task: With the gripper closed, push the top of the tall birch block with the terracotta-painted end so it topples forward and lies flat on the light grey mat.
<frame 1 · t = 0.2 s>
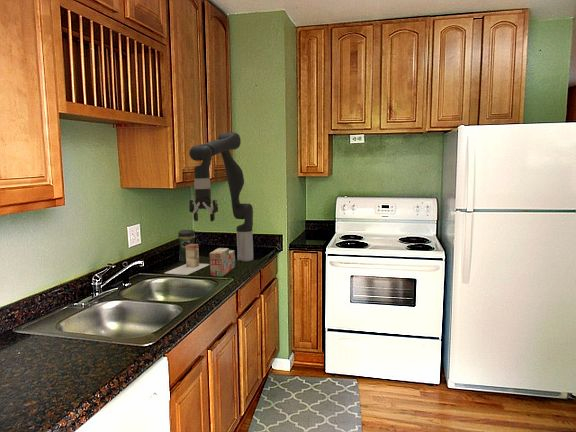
hand: (204, 221, 210), 29 cm above the counter, tool pointing down, fingers open, 8 cm apart
printed cardboard box: (223, 271, 229), on the counter
grey mat: (188, 269, 234), on the counter
coffee jar: (188, 261, 256), on the counter
birch block: (192, 266, 238), point 1 cm above the counter, touching grey mat
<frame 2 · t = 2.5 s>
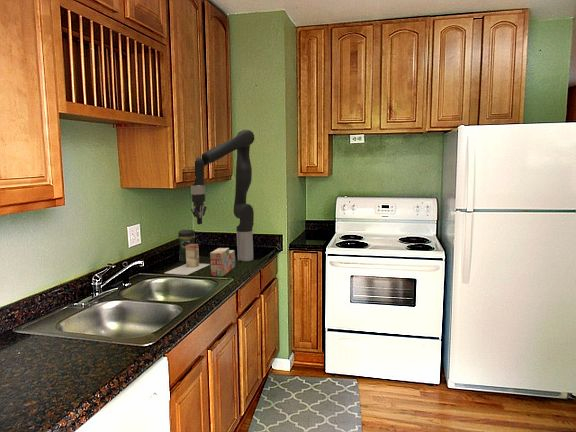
hand: (199, 224, 244), 23 cm above the counter, tool pointing down, fingers closed
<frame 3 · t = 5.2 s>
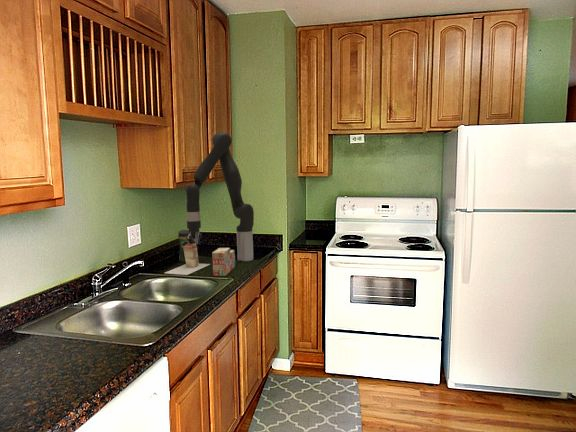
hand: (195, 250, 241), 9 cm above the counter, tool pointing down, fingers closed
birch block: (192, 265, 238), point 1 cm above the counter, tilted 10°, touching grey mat, gripper, hand
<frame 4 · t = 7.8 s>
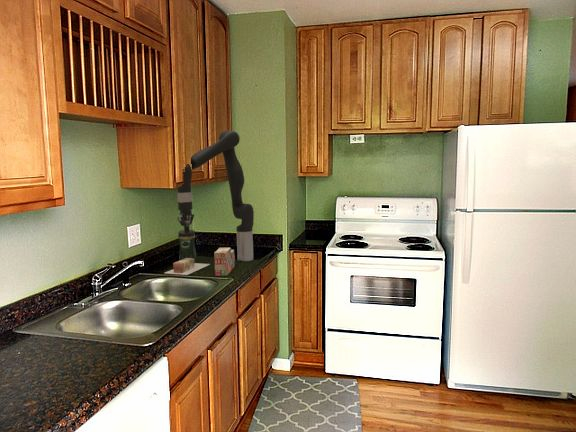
hand: (187, 233, 232), 20 cm above the counter, tool pointing down, fingers closed
birch block: (190, 262, 236), point 3 cm above the counter, tilted 90°, touching grey mat
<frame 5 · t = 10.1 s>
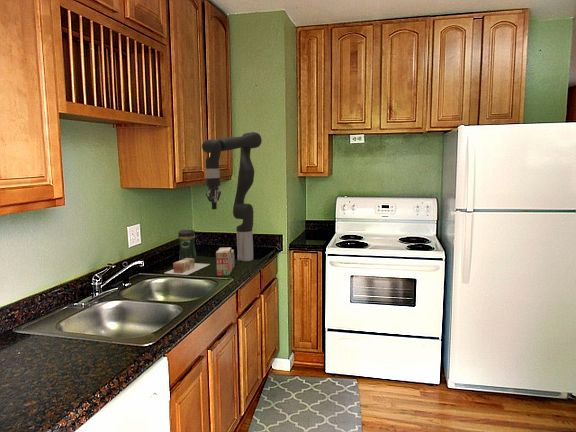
hand: (214, 209, 235), 32 cm above the counter, tool pointing down, fingers closed
at the end: birch block tilted 90°; birch block inside the target area (1.0 cm from its centre), point 3.3 cm above the counter; the gripper is holding nothing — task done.
